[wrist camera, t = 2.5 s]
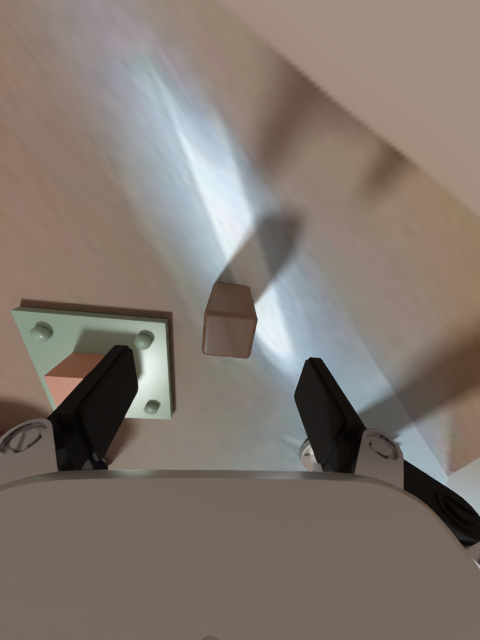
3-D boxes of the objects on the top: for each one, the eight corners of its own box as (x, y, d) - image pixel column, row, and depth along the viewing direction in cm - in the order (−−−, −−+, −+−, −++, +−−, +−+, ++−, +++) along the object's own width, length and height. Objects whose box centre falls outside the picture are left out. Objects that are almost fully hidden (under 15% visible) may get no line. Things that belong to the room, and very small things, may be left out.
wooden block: (210, 314, 23) (200, 356, 16) (213, 280, 21) (204, 310, 14) (244, 318, 23) (250, 361, 16) (250, 285, 22) (259, 317, 14)
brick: (125, 356, 24) (106, 379, 20) (131, 392, 27) (115, 419, 23) (72, 352, 23) (43, 376, 20) (84, 389, 26) (60, 416, 23)
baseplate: (167, 319, 23) (163, 325, 22) (172, 413, 30) (169, 423, 29) (19, 306, 22) (4, 312, 20) (60, 408, 29) (51, 417, 27)
